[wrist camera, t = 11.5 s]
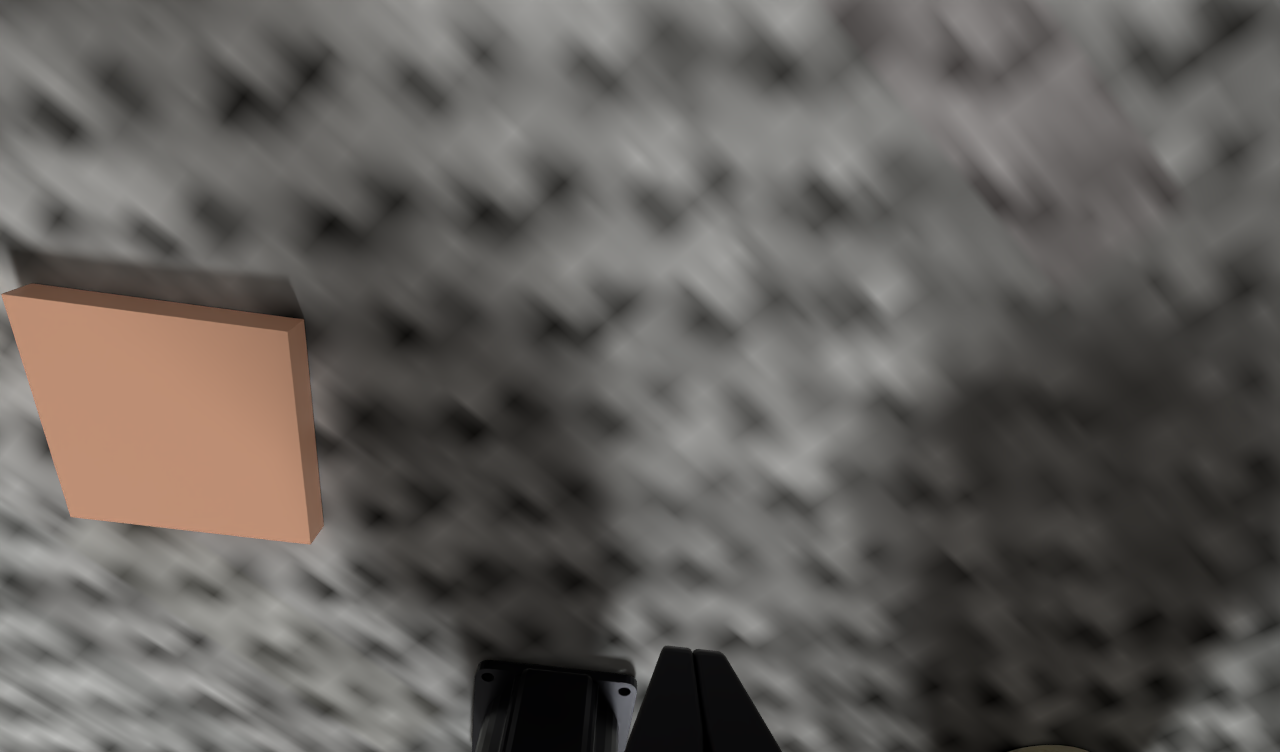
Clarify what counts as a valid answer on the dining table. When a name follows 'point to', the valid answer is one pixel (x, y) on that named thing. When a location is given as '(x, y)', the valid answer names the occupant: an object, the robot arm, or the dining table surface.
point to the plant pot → (1049, 749)
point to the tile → (173, 411)
